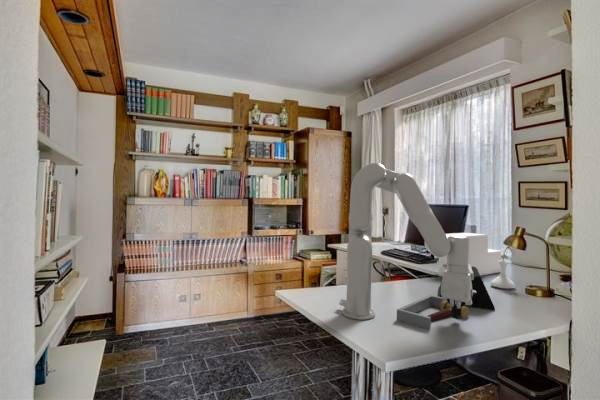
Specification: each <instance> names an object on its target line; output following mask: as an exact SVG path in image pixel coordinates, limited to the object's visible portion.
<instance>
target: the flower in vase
mask: <svg viewBox="0 0 600 400" xmlns="http://www.w3.org/2000/svg"><path fill="white" fill-rule="evenodd" d="M506 246H507V245H506ZM508 249H509V251H510V252H511V253H512V254H513V255H514V254H515V251H514V250H513V248H512V247H511V245H510V246H507V247H506V248H505V250H504V251H503V254H502V256H501V261H498V262H499V264H500V268H501V272H499V275H498V276H497V277H495V278H493V279H492V280H491V281H490V285H491V286H493V287H495V288H499V289H514V288H515V287H516V284H515V283H514V281H512V280H511V279H510V278H509V277H508V276H507V274H506V270H507V266H508V264H509V261H507V260H504V259H507V255H506V254H505V253H506V252H507V250H508Z"/></svg>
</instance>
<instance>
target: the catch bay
mask: <svg viewBox="0 0 600 400" xmlns="http://www.w3.org/2000/svg"><path fill="white" fill-rule="evenodd" d="M442 301H444V300H443V299H442V297H438V295H433V294H428V295H426V296H424V297H422V298H420V299H417V300H415V301H413V302H411V303H409V304H406V305H404V306H402V307H399V308H397V309H396V321H398V322H403V323H405V324H409V325H411V326H414V327H415V326H416V327H419V328H422V329H426V330H431V328H432V327H431V326H432V324H431V323H432V322H431V317H428V315H424V314H420V313H419V312H421V311H423V310H425V309H427V308H429V307H431V306H432V307H436V308H440V304H441V302H442ZM445 301H446V300H445ZM457 303H458V301H456V305H457Z"/></svg>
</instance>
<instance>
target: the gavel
mask: <svg viewBox="0 0 600 400" xmlns="http://www.w3.org/2000/svg"><path fill="white" fill-rule="evenodd" d="M439 308H440V309H439V311H437V312H434V313H431V314H428V315H427V316H428V317H431V323H432V322H434V321H437V320H440V319H442V318H446V317H448V316H450V315H452V307H451V306H450V304H449V303H448V301H445V300H444V301H442V302H441V304H440V307H439ZM469 314H470V309H469V307H465V306H463V307H461V317H460V318H462V319H466V318H468V316H469Z"/></svg>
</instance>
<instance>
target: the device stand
mask: <svg viewBox="0 0 600 400" xmlns="http://www.w3.org/2000/svg"><path fill="white" fill-rule="evenodd" d="M468 273H469V274H470V276H471V281H472V305H464V306H465V307H467V308H475V309H483V310H492V311H495V309H496V308H495V305H494V304H493V301H492V299H491V296H490V295H489V292H488V290H487V288H486V285H485V283H484V281H483V278H482V277H481V276H482V275H481V276H480V274H479V272H478V270H477V268H476V267H471V266H470V264H469V268H468ZM441 286H442V282H441V283H440V285H439V286H438V289H437V297H442V296H441Z"/></svg>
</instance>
